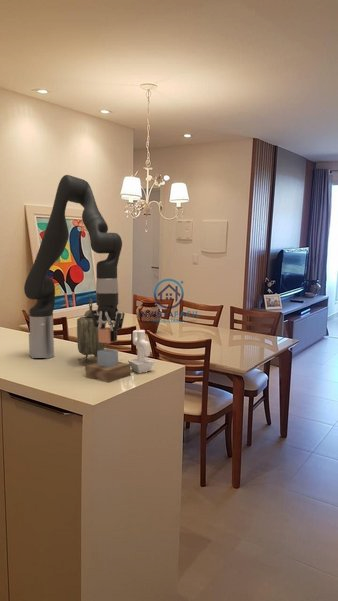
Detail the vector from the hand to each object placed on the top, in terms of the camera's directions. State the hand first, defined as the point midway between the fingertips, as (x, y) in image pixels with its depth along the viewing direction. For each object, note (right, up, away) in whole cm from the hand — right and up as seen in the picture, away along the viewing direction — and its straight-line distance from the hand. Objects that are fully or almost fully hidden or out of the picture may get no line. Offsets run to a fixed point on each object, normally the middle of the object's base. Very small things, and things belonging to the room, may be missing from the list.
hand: (108, 340), depth 158 cm
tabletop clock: (-10, -11, +22) cm, 26 cm away
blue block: (0, -9, +1) cm, 9 cm away
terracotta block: (0, 0, 0) cm, 0 cm away
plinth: (0, -13, +1) cm, 13 cm away
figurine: (+11, -12, +8) cm, 18 cm away
